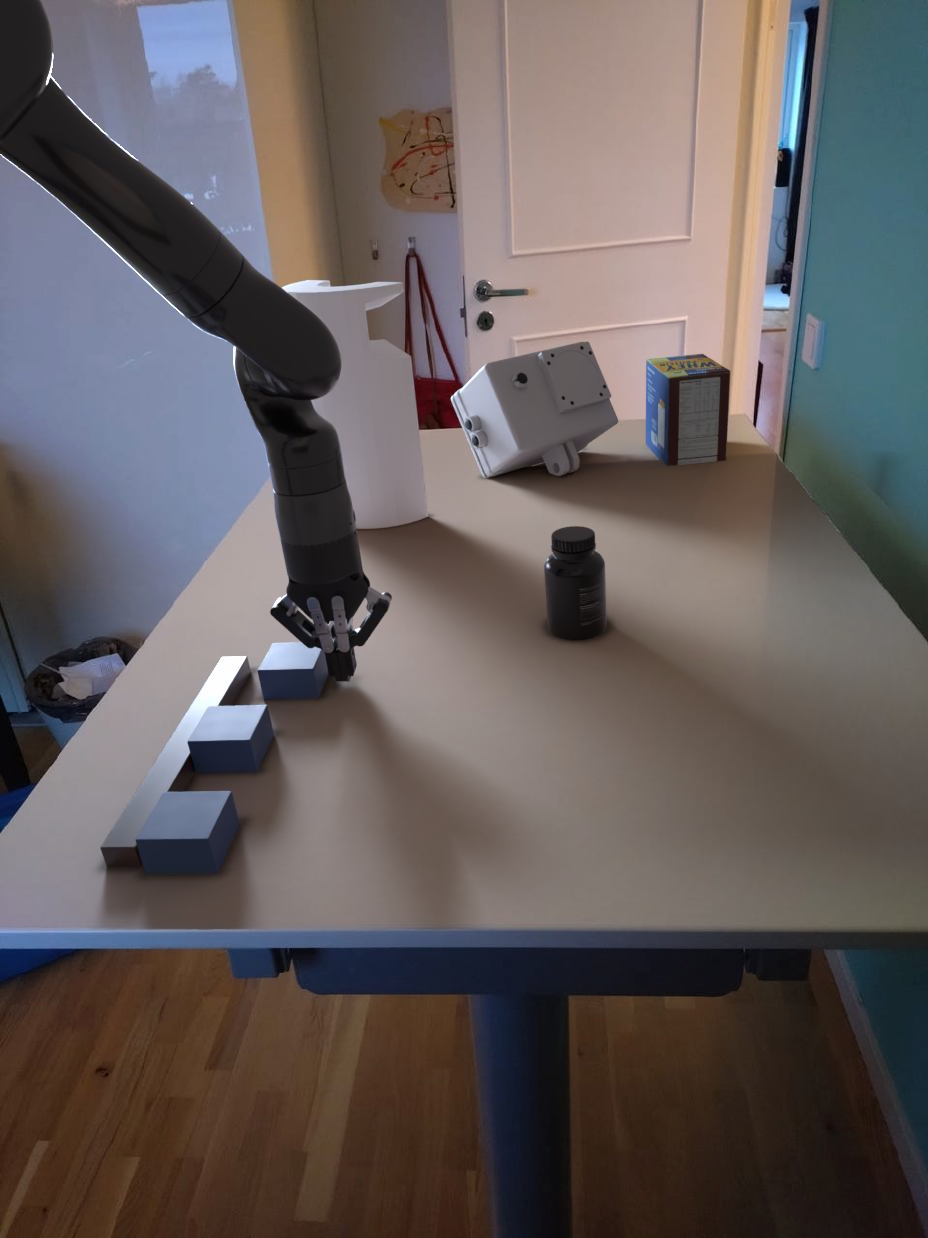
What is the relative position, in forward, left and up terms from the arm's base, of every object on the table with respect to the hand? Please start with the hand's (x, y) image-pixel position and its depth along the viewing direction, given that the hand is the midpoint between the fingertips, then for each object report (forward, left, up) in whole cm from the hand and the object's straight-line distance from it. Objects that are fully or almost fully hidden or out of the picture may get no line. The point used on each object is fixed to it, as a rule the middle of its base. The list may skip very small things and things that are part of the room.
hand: (344, 677), depth 96 cm
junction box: (+20, +73, -1) cm, 76 cm away
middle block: (-8, -12, -1) cm, 15 cm away
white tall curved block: (-8, +52, -1) cm, 53 cm away
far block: (-5, 0, -1) cm, 5 cm away
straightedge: (-13, -12, -1) cm, 18 cm away
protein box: (+46, +76, -1) cm, 89 cm away
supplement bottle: (+25, +11, -1) cm, 27 cm away
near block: (-8, -26, -1) cm, 27 cm away
